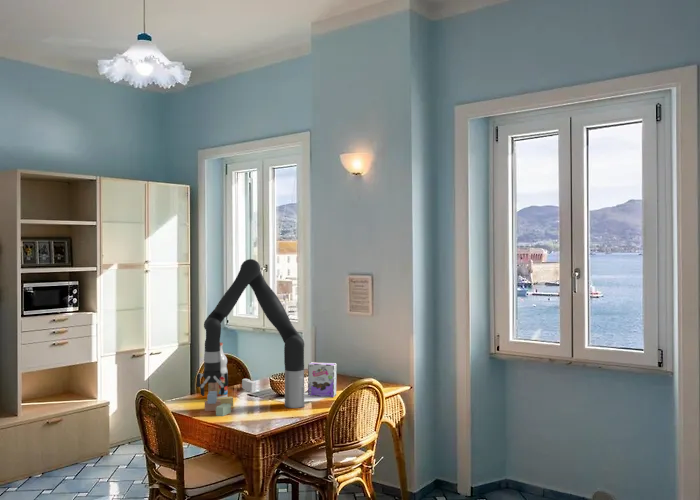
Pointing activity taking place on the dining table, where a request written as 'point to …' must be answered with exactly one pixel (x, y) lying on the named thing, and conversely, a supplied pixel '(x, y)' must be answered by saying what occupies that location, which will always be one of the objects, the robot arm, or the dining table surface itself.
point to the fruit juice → (216, 386)
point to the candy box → (322, 379)
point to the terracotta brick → (212, 406)
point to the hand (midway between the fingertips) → (212, 395)
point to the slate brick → (212, 397)
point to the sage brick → (223, 409)
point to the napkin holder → (249, 385)
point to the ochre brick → (226, 400)
